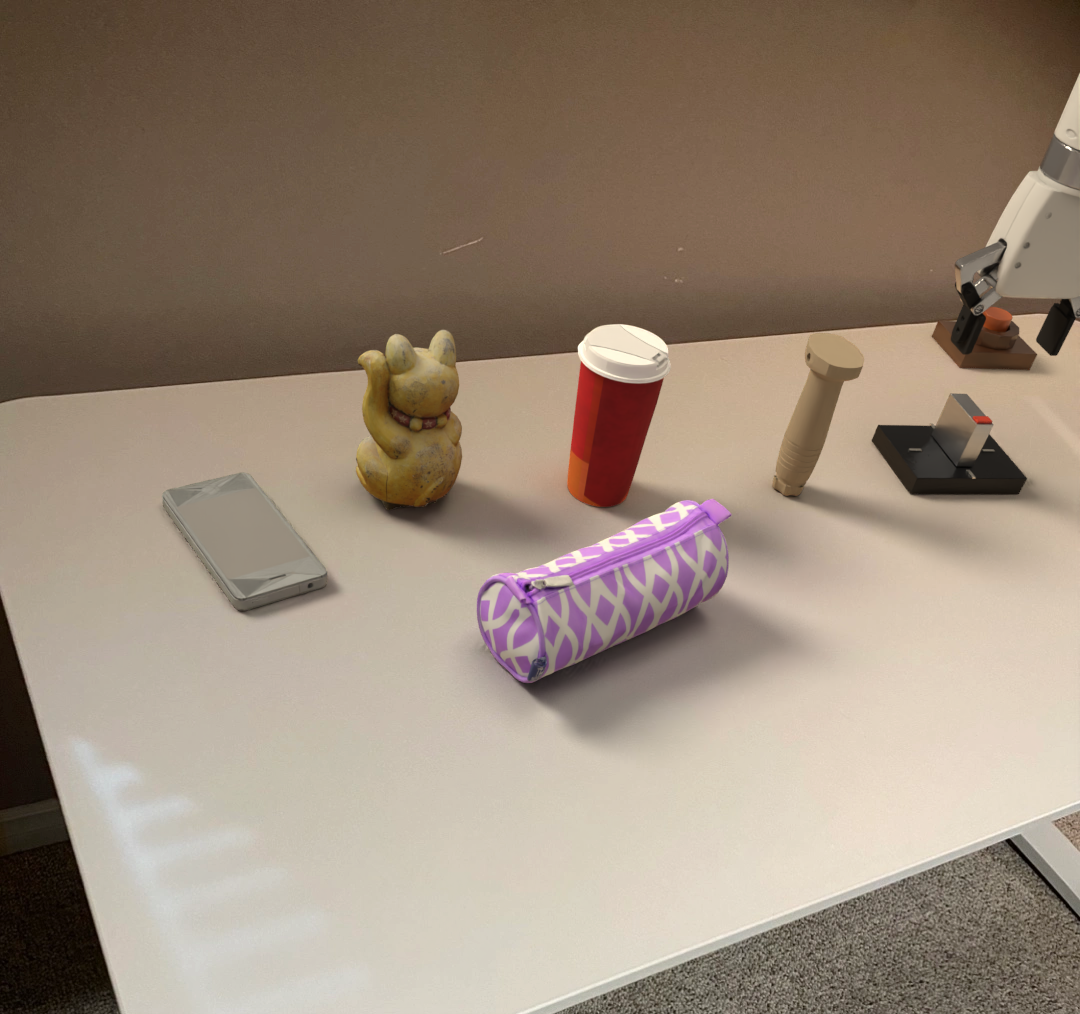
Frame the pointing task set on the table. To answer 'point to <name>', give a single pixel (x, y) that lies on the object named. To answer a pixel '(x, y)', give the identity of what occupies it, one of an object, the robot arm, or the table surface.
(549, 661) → the pencil case
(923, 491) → the base
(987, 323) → the button
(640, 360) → the coffee cup
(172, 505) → the phone
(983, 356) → the button block
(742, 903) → the table surface
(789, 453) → the handle
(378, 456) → the decorative figurine
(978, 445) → the tap handle
